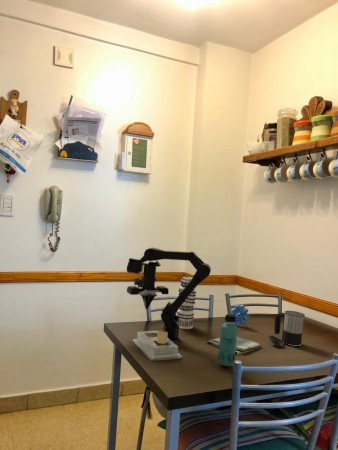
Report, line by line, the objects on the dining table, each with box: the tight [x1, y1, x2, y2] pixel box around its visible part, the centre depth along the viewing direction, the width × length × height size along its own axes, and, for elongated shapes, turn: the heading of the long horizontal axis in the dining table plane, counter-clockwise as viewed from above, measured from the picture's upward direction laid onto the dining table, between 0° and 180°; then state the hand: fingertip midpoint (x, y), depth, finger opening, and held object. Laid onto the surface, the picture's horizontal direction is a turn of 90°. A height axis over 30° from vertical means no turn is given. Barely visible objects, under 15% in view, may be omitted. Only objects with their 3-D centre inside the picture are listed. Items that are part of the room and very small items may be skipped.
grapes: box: [230, 304, 250, 327], centre depth 204 cm, size 12×7×12 cm, turn 42°
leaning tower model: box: [176, 276, 197, 330], centre depth 194 cm, size 9×9×25 cm
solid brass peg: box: [157, 329, 168, 346], centre depth 153 cm, size 4×4×8 cm
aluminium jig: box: [132, 330, 183, 362], centre depth 158 cm, size 13×22×4 cm, turn 24°
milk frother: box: [268, 310, 306, 348], centre depth 179 cm, size 14×16×15 cm
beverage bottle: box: [217, 313, 239, 367], centre depth 146 cm, size 6×7×20 cm
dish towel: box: [206, 336, 262, 356], centre depth 172 cm, size 19×18×3 cm
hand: (146, 308), depth 176 cm, fingers closed
